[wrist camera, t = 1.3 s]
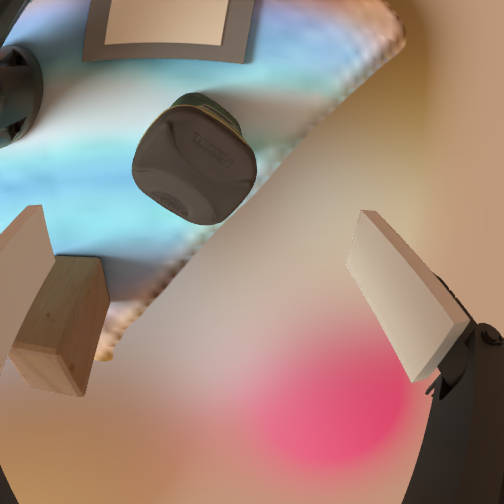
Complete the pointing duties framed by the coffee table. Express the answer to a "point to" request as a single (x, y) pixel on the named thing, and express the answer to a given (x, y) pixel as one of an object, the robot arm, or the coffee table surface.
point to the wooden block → (63, 327)
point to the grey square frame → (168, 30)
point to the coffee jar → (195, 161)
